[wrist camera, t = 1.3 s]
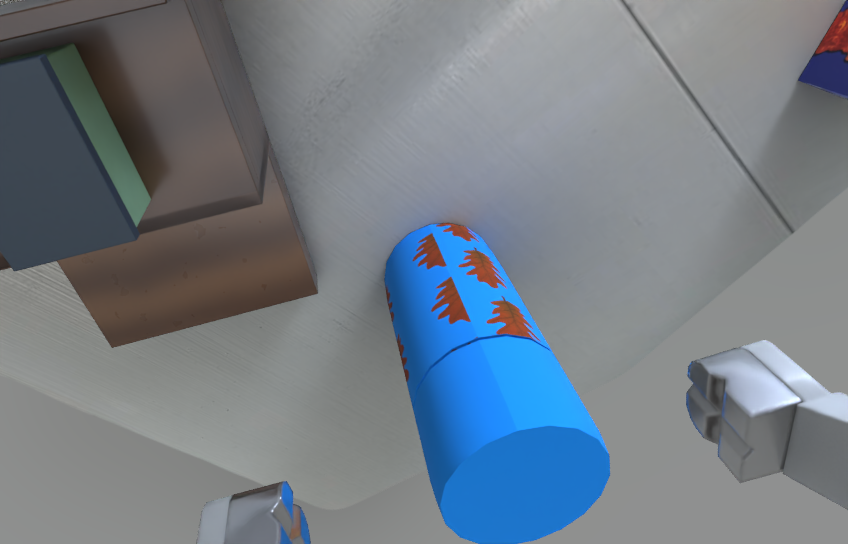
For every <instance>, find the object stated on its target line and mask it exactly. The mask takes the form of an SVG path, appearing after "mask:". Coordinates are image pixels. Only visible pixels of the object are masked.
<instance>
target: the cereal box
mask: <svg viewBox="0 0 848 544" xmlns="http://www.w3.org/2000/svg"><path fill="white" fill-rule="evenodd" d="M798 81H801V82H803V83H806V84H809V85H811V86H814V87H816V88H819V89H821V90H824V91H826V92H829V93H831V94H834V95H837V96H839V97H842V98H844V99H847V100H848V0H846V2H845V4H844V5H843V7H842V9H841V10H840V12H839V14H838V15H837V17H836V19H835V20H834V22H833V23H832V25H831V27H830V28H829V30H828V32H827V33H826V35H825V37H824V38H823V40H822V42H821V43H820V45H819V46H818V48H817V50H816V51H815V53H814V55H813V56H812V58H811V60H810V61H809V63H808V65H807V66H806V68H805V70H804V71H803V73H802V74H801V76H800V78H799V79H798Z"/></svg>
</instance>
